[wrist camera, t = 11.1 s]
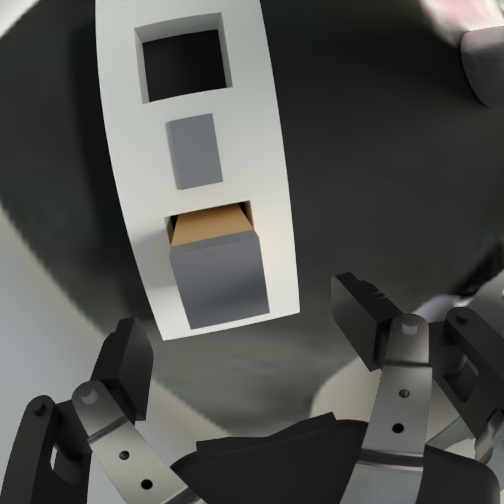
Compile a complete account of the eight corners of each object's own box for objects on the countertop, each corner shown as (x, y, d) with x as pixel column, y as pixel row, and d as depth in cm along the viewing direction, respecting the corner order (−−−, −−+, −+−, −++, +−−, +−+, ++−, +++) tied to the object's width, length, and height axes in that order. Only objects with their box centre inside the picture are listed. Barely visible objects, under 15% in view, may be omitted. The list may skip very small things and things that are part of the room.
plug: (235, 201, 20) (258, 237, 13) (244, 254, 22) (270, 313, 14) (178, 212, 20) (168, 255, 12) (191, 265, 21) (190, 329, 14)
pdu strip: (245, -10, 14) (254, -31, 11) (287, 292, 23) (301, 314, 20) (107, 15, 13) (94, -3, 10) (166, 317, 22) (163, 343, 19)
